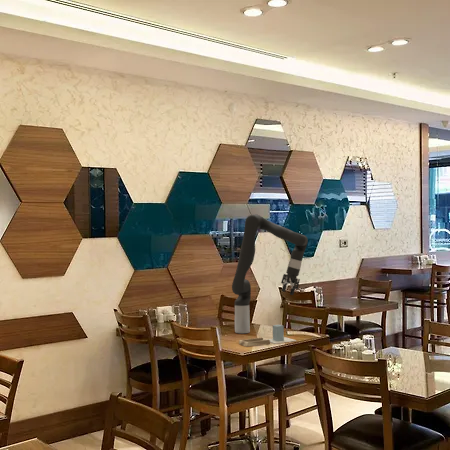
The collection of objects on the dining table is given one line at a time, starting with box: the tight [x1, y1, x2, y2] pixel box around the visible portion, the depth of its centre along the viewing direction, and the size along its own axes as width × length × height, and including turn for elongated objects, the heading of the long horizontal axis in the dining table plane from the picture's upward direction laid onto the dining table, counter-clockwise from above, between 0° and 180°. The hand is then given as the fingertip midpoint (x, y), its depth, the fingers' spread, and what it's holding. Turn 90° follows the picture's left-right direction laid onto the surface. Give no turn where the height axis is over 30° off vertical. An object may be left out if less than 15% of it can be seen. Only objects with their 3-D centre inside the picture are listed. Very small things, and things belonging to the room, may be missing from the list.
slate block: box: [272, 324, 285, 341], centre depth 337 cm, size 5×5×8 cm
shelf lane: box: [238, 336, 271, 348], centre depth 329 cm, size 8×15×2 cm, turn 118°
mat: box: [264, 336, 297, 345], centre depth 337 cm, size 12×15×1 cm
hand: (287, 293), depth 349 cm, fingers open, 8 cm apart
